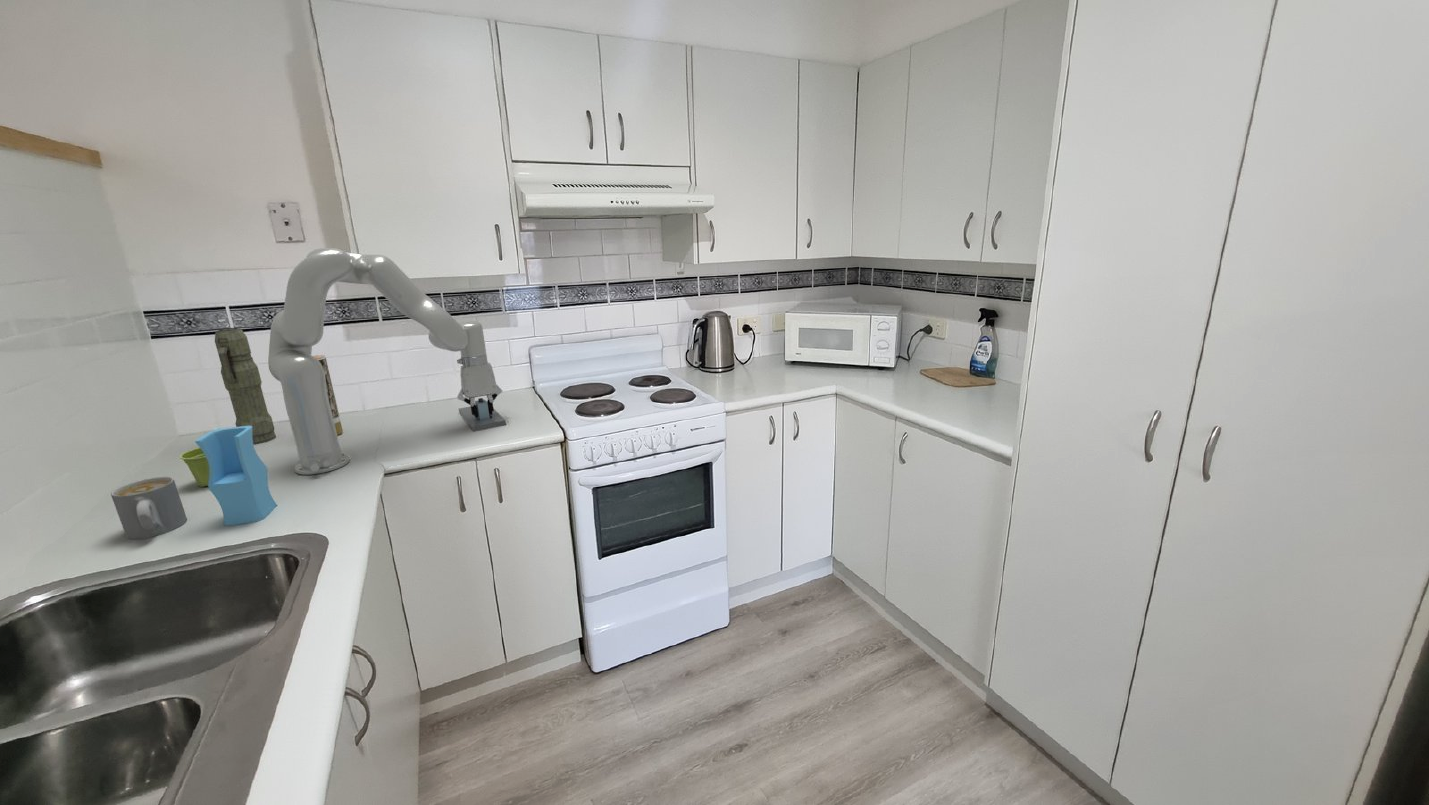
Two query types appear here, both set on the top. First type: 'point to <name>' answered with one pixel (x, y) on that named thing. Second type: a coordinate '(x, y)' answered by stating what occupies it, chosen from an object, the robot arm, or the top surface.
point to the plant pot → (197, 465)
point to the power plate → (482, 424)
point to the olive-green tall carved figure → (243, 384)
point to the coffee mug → (149, 507)
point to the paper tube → (330, 394)
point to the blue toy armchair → (237, 475)
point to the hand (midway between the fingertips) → (483, 414)
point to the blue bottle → (482, 409)
